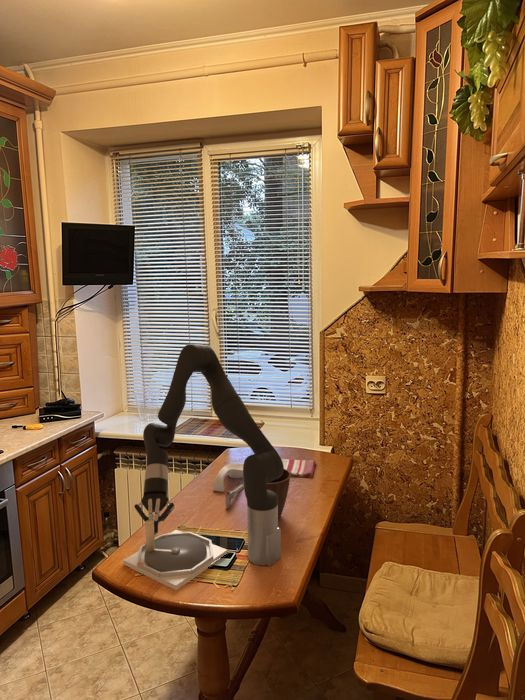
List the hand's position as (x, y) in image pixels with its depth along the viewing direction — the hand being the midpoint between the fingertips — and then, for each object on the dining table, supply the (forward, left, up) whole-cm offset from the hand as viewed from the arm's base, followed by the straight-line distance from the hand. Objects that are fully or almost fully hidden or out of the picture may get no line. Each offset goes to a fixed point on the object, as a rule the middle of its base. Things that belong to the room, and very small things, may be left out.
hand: (152, 534), depth 159 cm
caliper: (+4, -46, -7) cm, 47 cm away
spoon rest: (+15, -57, -7) cm, 60 cm away
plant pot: (-16, -40, -7) cm, 43 cm away
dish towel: (+3, -81, -7) cm, 81 cm away
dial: (-8, -2, -5) cm, 9 cm away
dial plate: (-8, -2, -6) cm, 10 cm away
